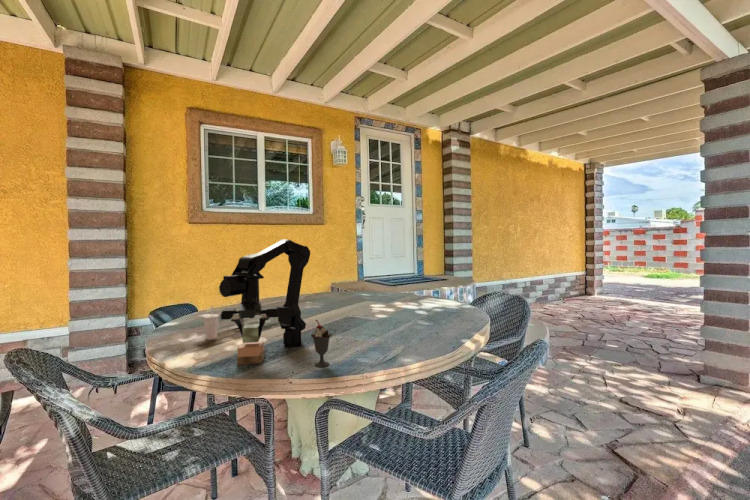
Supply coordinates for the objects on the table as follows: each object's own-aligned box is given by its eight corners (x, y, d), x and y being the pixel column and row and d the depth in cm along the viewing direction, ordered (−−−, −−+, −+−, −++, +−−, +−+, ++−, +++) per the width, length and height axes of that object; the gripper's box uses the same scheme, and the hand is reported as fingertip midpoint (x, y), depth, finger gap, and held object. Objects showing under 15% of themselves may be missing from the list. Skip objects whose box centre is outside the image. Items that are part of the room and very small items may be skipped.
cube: (260, 337, 130) (259, 324, 130) (257, 342, 125) (257, 327, 125) (245, 338, 129) (245, 324, 129) (242, 342, 124) (242, 328, 124)
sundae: (312, 361, 125) (311, 318, 124) (332, 361, 126) (331, 317, 125) (310, 368, 119) (309, 323, 118) (331, 367, 119) (330, 322, 118)
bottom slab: (265, 356, 132) (265, 348, 132) (261, 364, 124) (261, 355, 124) (242, 357, 131) (242, 349, 131) (237, 365, 123) (236, 357, 123)
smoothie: (213, 340, 151) (212, 307, 150) (199, 340, 152) (198, 306, 152) (223, 336, 157) (222, 304, 157) (209, 336, 159) (208, 304, 158)
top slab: (263, 349, 131) (263, 341, 131) (258, 356, 124) (258, 347, 124) (243, 350, 130) (243, 342, 130) (237, 356, 123) (237, 348, 123)
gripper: (215, 297, 117) (216, 345, 118) (275, 295, 120) (276, 342, 121) (224, 292, 128) (225, 336, 129) (279, 290, 131) (280, 333, 132)
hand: (251, 337), depth 127 cm, fingers closed on cube, 5 cm apart
